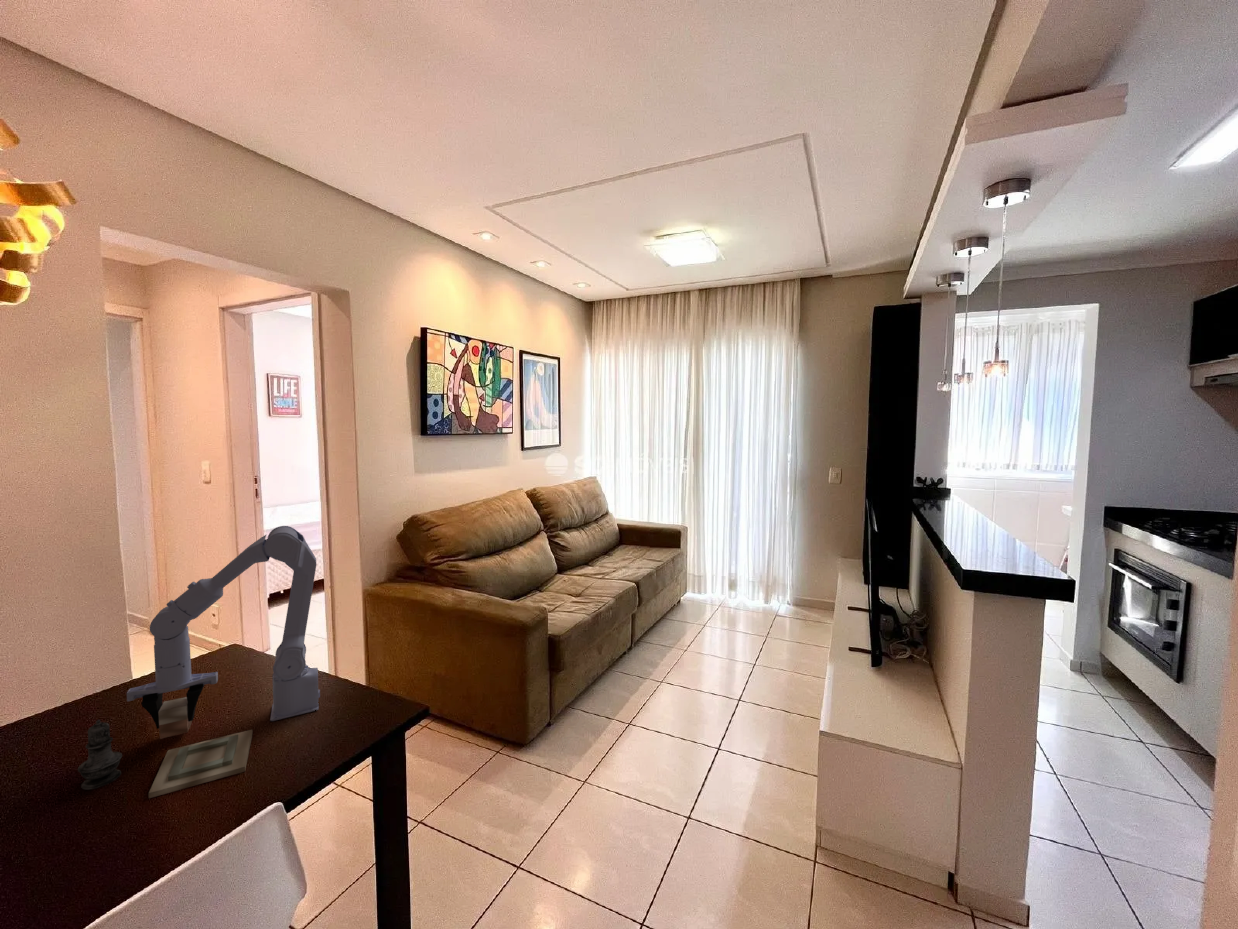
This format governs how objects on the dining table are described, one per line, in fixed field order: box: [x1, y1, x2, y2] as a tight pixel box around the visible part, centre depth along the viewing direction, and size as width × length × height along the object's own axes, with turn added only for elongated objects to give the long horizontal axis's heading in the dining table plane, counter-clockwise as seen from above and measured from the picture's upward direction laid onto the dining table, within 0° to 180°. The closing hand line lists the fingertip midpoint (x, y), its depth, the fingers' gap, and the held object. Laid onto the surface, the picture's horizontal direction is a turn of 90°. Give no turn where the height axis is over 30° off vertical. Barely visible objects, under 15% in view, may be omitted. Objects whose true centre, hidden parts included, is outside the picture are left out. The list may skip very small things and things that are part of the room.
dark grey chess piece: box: [77, 718, 123, 791], centre depth 93 cm, size 6×6×12 cm
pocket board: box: [148, 729, 254, 799], centre depth 99 cm, size 14×14×2 cm
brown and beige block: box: [158, 696, 193, 740], centre depth 106 cm, size 4×4×6 cm
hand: (176, 722), depth 107 cm, fingers closed on brown and beige block, 4 cm apart
